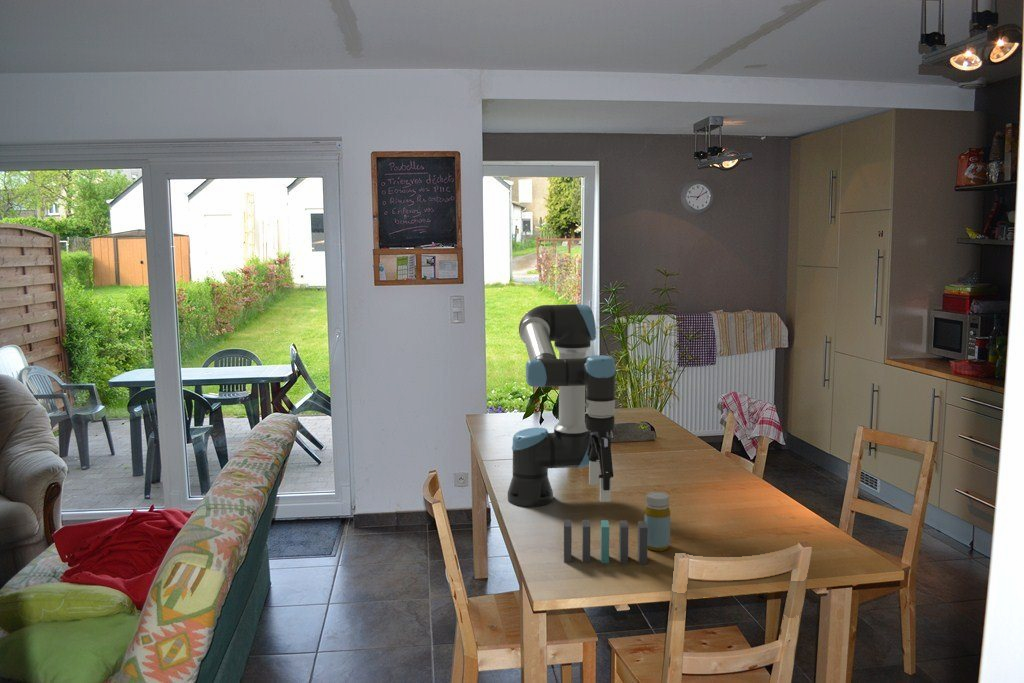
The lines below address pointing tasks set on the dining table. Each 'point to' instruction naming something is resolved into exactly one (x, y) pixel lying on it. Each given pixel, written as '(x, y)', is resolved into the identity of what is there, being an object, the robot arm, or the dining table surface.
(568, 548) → the domino
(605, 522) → the domino
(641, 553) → the domino
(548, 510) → the dining table surface
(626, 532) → the domino
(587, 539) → the domino
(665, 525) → the bottle
